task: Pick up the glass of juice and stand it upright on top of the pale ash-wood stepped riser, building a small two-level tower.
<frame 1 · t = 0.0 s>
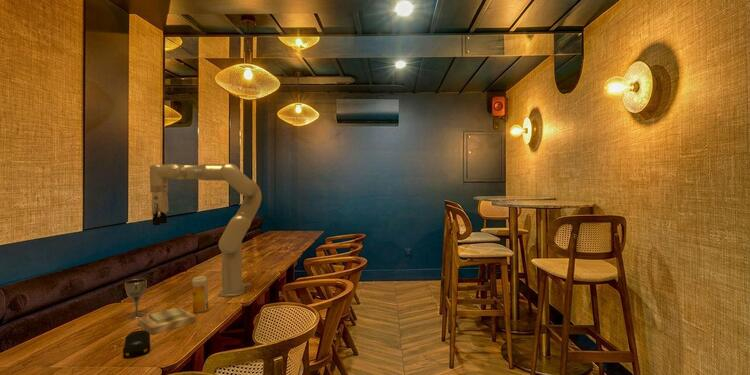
hand: (160, 224, 178), 37 cm above the table, tool pointing down, fingers open, 9 cm apart
riser: (167, 323, 147), on the table
wine glass: (136, 315, 157), on the table
glass of juice: (200, 311, 161), on the table
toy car: (137, 349, 125), on the table
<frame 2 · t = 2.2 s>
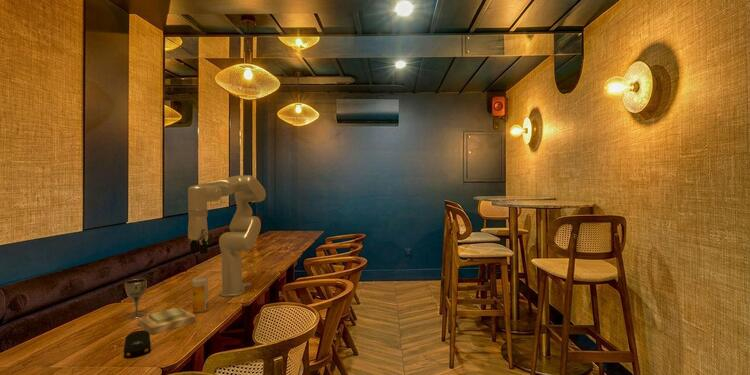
hand: (198, 252, 160), 26 cm above the table, tool pointing down, fingers open, 9 cm apart
nothing on the table moved.
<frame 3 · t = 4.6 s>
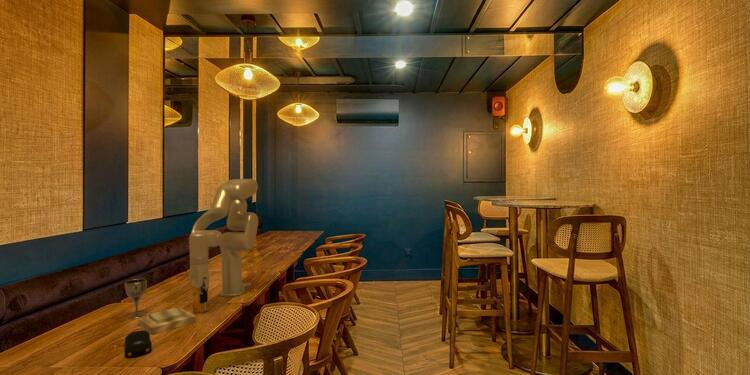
hand: (200, 300, 161), 5 cm above the table, tool pointing down, fingers closed on glass of juice, 6 cm apart
glass of juice: (200, 311, 161), on the table, touching gripper
everything else where it was.
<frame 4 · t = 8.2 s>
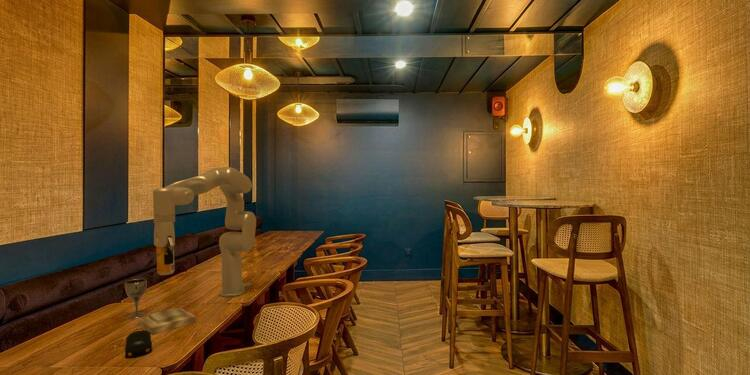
hand: (165, 262, 147), 25 cm above the table, tool pointing down, fingers closed on glass of juice, 6 cm apart
glass of juice: (166, 274, 147), point 20 cm above the table, touching gripper
everything else where it was.
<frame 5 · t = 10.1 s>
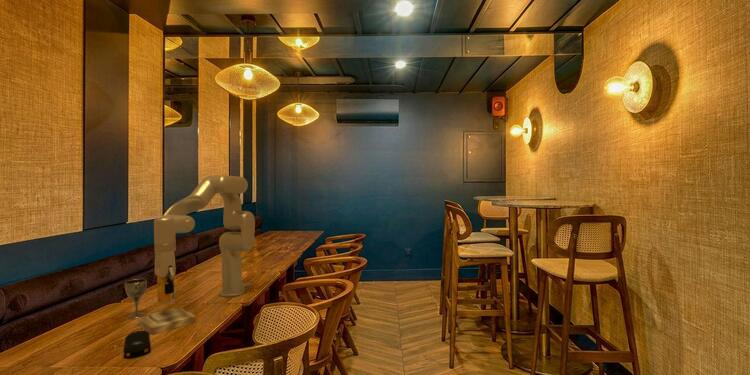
hand: (166, 291, 147), 13 cm above the table, tool pointing down, fingers closed on glass of juice, 6 cm apart
glass of juice: (166, 303, 147), point 8 cm above the table, touching gripper
everything else where it was.
when the fingers open (10 cm above the table, at t = 11.7 s): glass of juice drops 1 cm, resting on riser.
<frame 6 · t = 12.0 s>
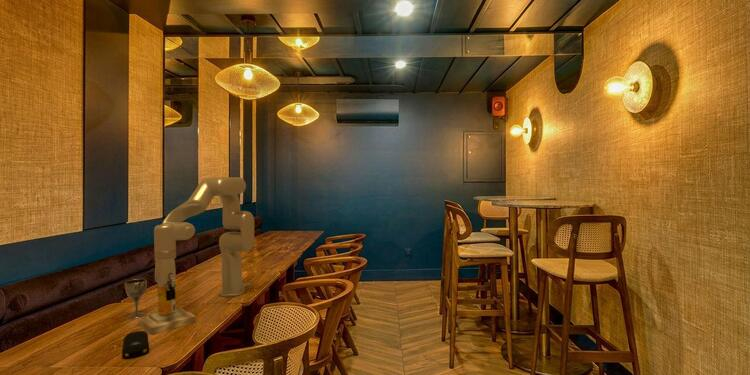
hand: (166, 297, 147), 11 cm above the table, tool pointing down, fingers open, 8 cm apart
glass of juice: (167, 313, 147), point 4 cm above the table, touching riser
everything else where it was.
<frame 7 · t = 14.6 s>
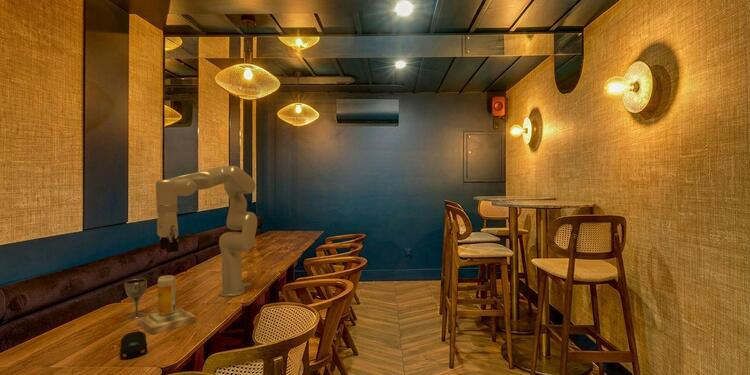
hand: (169, 250, 151), 29 cm above the table, tool pointing down, fingers open, 9 cm apart
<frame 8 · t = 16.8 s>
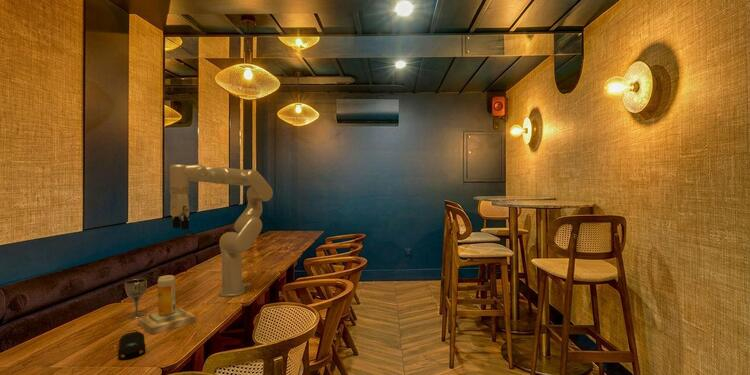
hand: (180, 228, 166), 36 cm above the table, tool pointing down, fingers open, 9 cm apart
at the end: glass of juice inside the target area on the riser (0.2 cm from its centre), point 3.8 cm above the riser's base; glass of juice tilted 0°; the gripper is holding nothing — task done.
